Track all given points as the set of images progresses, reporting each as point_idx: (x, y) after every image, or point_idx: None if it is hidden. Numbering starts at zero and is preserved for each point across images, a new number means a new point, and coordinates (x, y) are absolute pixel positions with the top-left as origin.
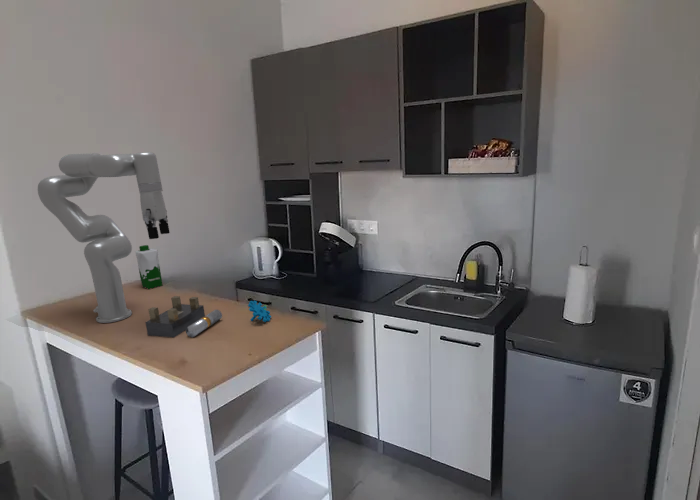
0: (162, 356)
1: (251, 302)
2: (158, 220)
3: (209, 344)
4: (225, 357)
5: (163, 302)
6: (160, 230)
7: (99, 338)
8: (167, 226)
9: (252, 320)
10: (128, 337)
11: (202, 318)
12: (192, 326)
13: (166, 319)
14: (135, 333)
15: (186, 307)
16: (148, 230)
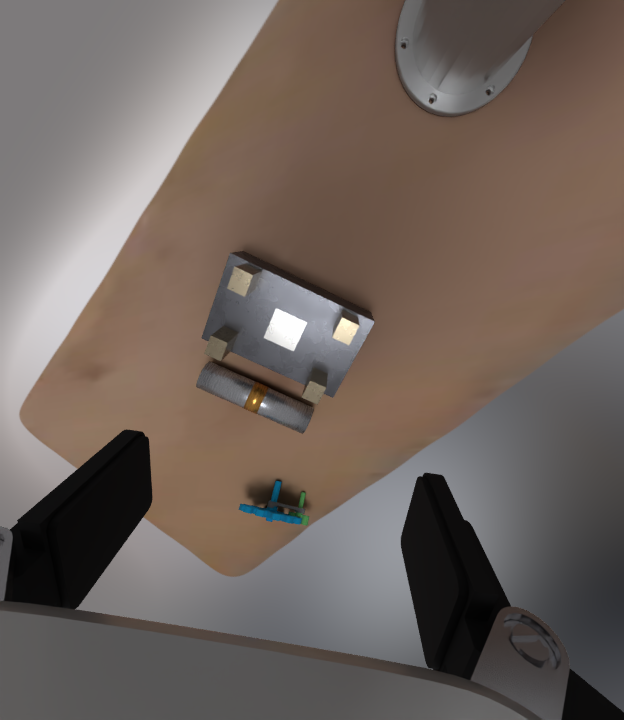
0: (118, 325)
1: (270, 518)
2: (477, 668)
3: (168, 410)
4: None
5: (558, 210)
6: (427, 507)
7: (251, 82)
8: (420, 618)
9: (275, 483)
10: (240, 192)
11: (245, 402)
12: (199, 385)
13: (239, 314)
14: (266, 204)
15: (329, 352)
16: (54, 500)
